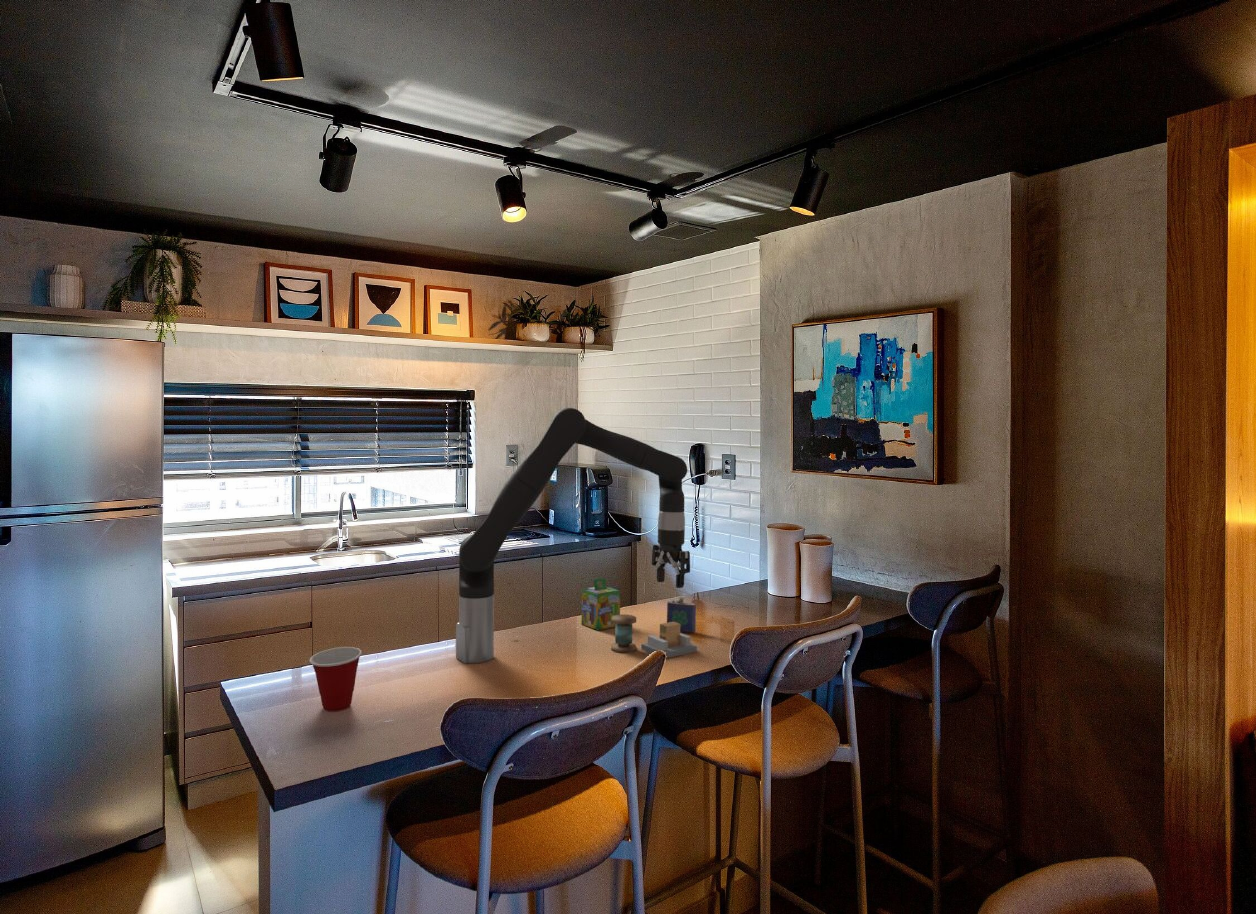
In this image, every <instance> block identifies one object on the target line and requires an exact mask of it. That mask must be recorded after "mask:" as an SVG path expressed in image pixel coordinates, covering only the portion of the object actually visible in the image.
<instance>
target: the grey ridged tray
mask: <svg viewBox="0 0 1256 914" xmlns="http://www.w3.org/2000/svg"><path fill="white" fill-rule="evenodd" d="M691 641H692V640H691V636H689V635H686V633H680V645H677V646H672V647H668V641H666V640H663V639H661V638H660V637H658V636H655V635H651V634H650V635H648V636H647V642H645V643H641V645H640V647H641V648H640V649H641V650H642V651H644V652H647V653H648V654H651V653H652V652H654V651H658V650H662V651H664V652H666V656H667V658H666V659H669V658H674V657H677V656H683V655H688V654H691V653H697V652H698V646H697V645H695V644H692V643H691ZM668 657H669V658H668Z"/></svg>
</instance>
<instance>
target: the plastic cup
mask: <svg viewBox="0 0 1256 914" xmlns="http://www.w3.org/2000/svg"><path fill="white" fill-rule="evenodd" d="M362 652H363V651H362V650H361V649H360V648H359V647H353V646H342V647H341V646H340V647H333V648H328V649H325V650H322V651H319V652H317V653H315V654H313V655H312V656H311V657H310V658H309V663H310V664H311V665H312V668H313V670H314V673H315V677H316V683H317V687H318V688H317V689H318V691H319V696H320V700H321V706H322V709H323V710H324V711H326V712H331V713H332V712H340V711H344V710H347V709H349V708H350V707H351V705H352V702H353V701H352V700H353V695H354V690H355V685H356V678H357V671H358V667H359V661H360V657H361V655H362Z"/></svg>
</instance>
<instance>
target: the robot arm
mask: <svg viewBox="0 0 1256 914" xmlns="http://www.w3.org/2000/svg"><path fill="white" fill-rule="evenodd" d="M575 444H577V445H581V446H584V447H588V448H591V449H594V450H596V451H599V452H602V453H604V454H606V455H607V456H610V457H612V458H614V459H616V460H619V461H621V462H623V463H626V464H627V465H629V466H632V467H635V468H638V469H640V470H644V471H647V472H649V473H652V474H653V475H654V474H655V475H656V476H658V478H657V479H658V486H659V487H658V489H659V503H658V504H659V505H658V506H659V507H658V508H659V509H658V510H659V511H658V518H657V543H658V544H653V545H652V551H651V552H652V553H651V554H652V555H651V565H652V566H654V567H655V569H656V582H657V583H664V582H665V580H666V579H665V578H666V577H665V574H666V573H665V572H666V569H665V567H666V565H667V564H669V565H671V567H672V568H674V570H675V574H676V575H675V588H677V589H682V588H684V586H685V575H686V574H688V573H689V574H690V573H691V552H690V551H689V550H685V551H684V550H683V549H682V548H683V547H682V546H683V545H684V544H685V540H686V538H685V535H686V532H685V531H686V530H685V529H686V517H685V494H684V491H683V479H684V478H685V477H686V476H687V475H688V474H687V473H688V465H687V463H686V462H685V461H684V459H682V458H681V457H679V456H676V455H673V454H671V453H668V452H666V451H662V450H659V449H657V448H655V447H654V446H652V445H650V444H647V443H645V442H642V441H640V440H638V439H635V438H632V437H630V436H627V435H624V434H620V433H617V432H614V431H611V430H608V429H606V428H604V427H601V426H598V425H596V424H595V423H592V422H591V421H589V420H588V419H586V417H585V416H584V413H582V412H581V411H580V410H579V409H577V408H573V407H565V408H562V409H560V410H559V411H557V412H556V413H555V414H554V415H553V417H552V419H551V422H550V425H549V427H548V428H547V430H546V432H545V433H544V435H543V437H542V439H541V440H540V441H539V443H537V445H536V446H535V448H534V449H533V450H532V451H531V452H530V453H529V454H528V455H527V456H526V457H525V458H524V459H523V460H522V462H521V463H520V464H519V465H518V466H517V468H516V469H515V470H514V471H513V473H512V474H511V475H510V477H509V478H508V479H507V481H506V482H505V483H504V485H503V487H502V489H500V492H499V493H498V495H497V497H496V499H495V501H494V503H493V505H492V507H491V509H490V511H489V513H488V515H487V516H486V518H485V519H484V520H483V522H482V523H481V524H480V526H479V527H478V528H477V529H476V530H475V531H474V533H472V534H469V535H468V536H467V537H465V538H464V539H463V540H462V542H461V543H460V546H459V553H458V559H459V560H458V564H459V567H458V568H459V569H458V571H459V572H458V573H459V574H458V575H459V576H458V622H456V623H455V658H456V659H458V661H460V662H462V663H463V664H479V663H485V662H489V661H491V660H492V659H494V657H495V655H494V654H495V647H494V646H495V645H494V644H495V641H494V640H495V639H494V638H495V637H494V635H495V625H494V624H495V558H496V557H497V554H498V552H499V551H500V549H501V547H502V546H503V544H504V542H505V541H506V539H507V537H508V536H509V535H510V533H511V532H512V531H513V529H514V528H515V527H516V526H517V525H518V524H519V522H520V521H521V520H522V519H523V518H524V517H525V516H526V513H528V512H529V511H530V509H531V507H532V506H533V505H534V504H535V502H536V501H537V500H538V498H539V497H540V495H541V494H542V492H543V490H544V489H545V488H546V486H547V484H548V483H549V481H550V480H551V478H552V476H553V474H554V473H555V471H556V469H557V467H558V466H559V463H560V462H561V460H563V458H564V457H565V456H566V454H567V453H568V452H569V451H570V450H571V448H572V447H573V446H574V445H575Z"/></svg>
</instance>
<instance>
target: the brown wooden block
mask: <svg viewBox="0 0 1256 914" xmlns="http://www.w3.org/2000/svg"><path fill="white" fill-rule="evenodd" d="M659 638H661V639H663V640H666V641H668V647H672V646H677V645H680V624H679V623H676V622H668V623H667V622H664V623H659Z"/></svg>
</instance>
